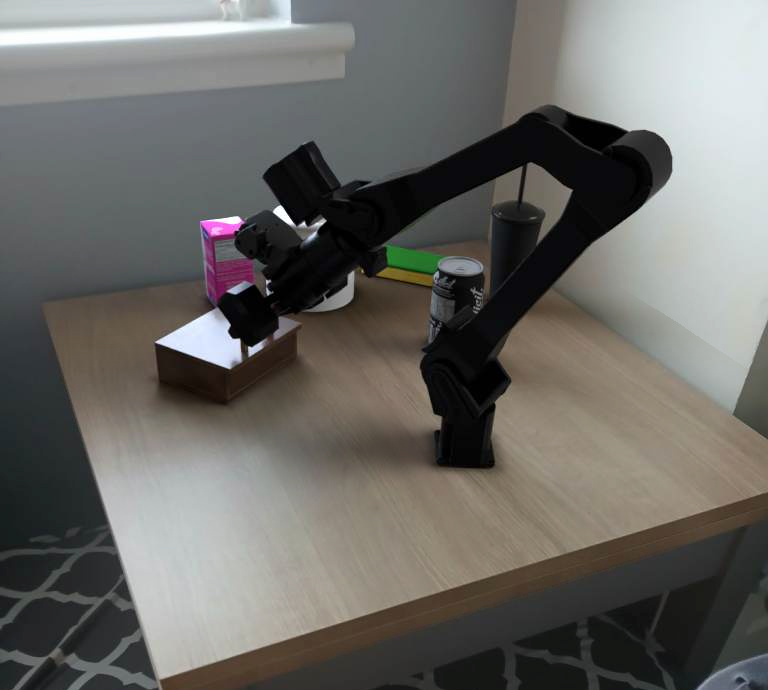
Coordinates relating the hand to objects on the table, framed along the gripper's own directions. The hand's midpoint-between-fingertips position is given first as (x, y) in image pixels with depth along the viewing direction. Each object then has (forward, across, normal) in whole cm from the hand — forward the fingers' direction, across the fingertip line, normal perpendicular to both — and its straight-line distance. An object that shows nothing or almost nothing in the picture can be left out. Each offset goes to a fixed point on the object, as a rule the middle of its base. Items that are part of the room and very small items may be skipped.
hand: (247, 325), depth 106 cm
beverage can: (-8, -21, +18) cm, 28 cm away
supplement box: (+15, -15, -5) cm, 22 cm away
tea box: (+7, 0, +3) cm, 7 cm away
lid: (+4, 0, 0) cm, 4 cm away
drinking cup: (-8, -39, +18) cm, 43 cm away
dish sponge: (+4, -40, +6) cm, 41 cm away
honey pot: (+10, -25, 0) cm, 27 cm away
